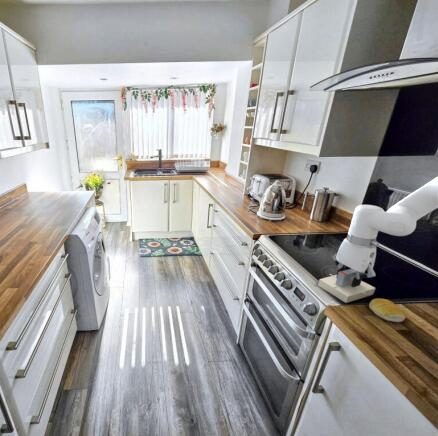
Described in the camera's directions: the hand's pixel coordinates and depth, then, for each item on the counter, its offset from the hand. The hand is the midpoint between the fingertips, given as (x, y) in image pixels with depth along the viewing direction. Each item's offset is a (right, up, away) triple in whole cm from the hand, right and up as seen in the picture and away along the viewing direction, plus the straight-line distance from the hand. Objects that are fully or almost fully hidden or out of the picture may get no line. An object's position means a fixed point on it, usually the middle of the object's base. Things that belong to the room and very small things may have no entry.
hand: (347, 281), depth 92 cm
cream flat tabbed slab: (0, -4, +1) cm, 4 cm away
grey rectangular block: (0, -1, 0) cm, 1 cm away
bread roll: (+4, -8, -11) cm, 14 cm away
